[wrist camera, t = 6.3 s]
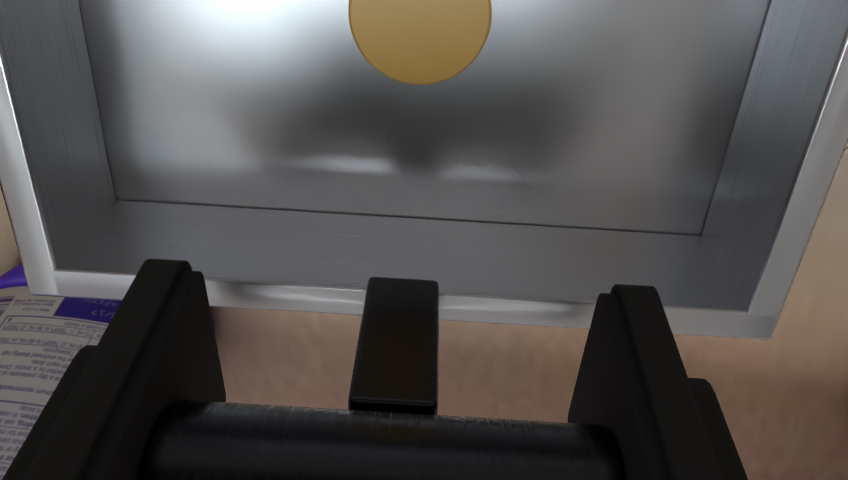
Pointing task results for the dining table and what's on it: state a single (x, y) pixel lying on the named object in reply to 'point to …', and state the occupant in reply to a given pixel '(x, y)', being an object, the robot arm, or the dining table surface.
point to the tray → (419, 195)
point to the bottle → (38, 352)
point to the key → (420, 36)
